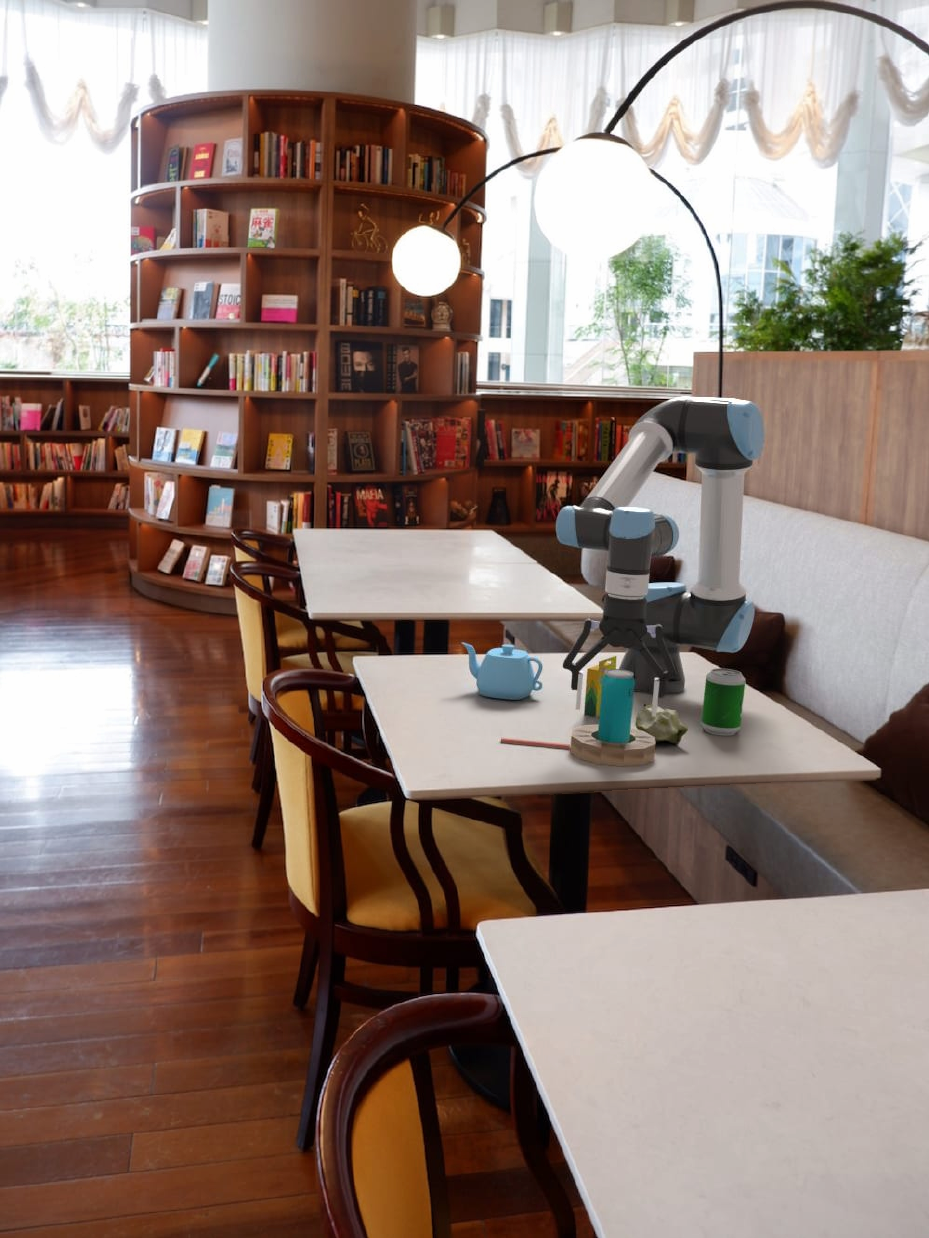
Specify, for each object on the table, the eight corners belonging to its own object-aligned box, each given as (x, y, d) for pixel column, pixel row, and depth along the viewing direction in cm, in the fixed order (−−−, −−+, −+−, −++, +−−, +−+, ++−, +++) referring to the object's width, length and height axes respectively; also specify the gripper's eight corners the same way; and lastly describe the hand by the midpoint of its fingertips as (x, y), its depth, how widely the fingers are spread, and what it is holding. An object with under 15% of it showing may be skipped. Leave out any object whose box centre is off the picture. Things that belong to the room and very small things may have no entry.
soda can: (740, 738, 230) (746, 678, 228) (700, 734, 232) (706, 674, 229) (739, 728, 237) (745, 669, 235) (700, 723, 239) (707, 665, 236)
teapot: (468, 634, 258) (550, 643, 254) (465, 682, 260) (546, 691, 256) (453, 645, 246) (539, 655, 242) (450, 695, 248) (535, 706, 244)
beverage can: (630, 750, 218) (638, 671, 215) (624, 759, 213) (631, 678, 210) (600, 745, 220) (607, 666, 217) (593, 754, 215) (600, 673, 212)
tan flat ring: (572, 736, 225) (573, 721, 224) (652, 744, 223) (654, 728, 222) (568, 760, 210) (570, 744, 209) (654, 769, 208) (656, 752, 208)
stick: (501, 740, 219) (501, 737, 219) (569, 747, 218) (569, 744, 218) (500, 742, 218) (500, 739, 218) (569, 748, 217) (569, 745, 217)
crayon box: (600, 708, 246) (605, 653, 244) (613, 711, 244) (618, 655, 242) (582, 714, 240) (587, 658, 238) (595, 718, 238) (600, 661, 236)
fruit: (628, 741, 229) (634, 700, 229) (675, 747, 229) (681, 706, 229) (637, 747, 219) (644, 703, 219) (687, 753, 220) (693, 710, 220)
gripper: (554, 593, 209) (545, 710, 213) (698, 605, 206) (686, 723, 210) (556, 586, 216) (548, 699, 220) (696, 597, 213) (684, 711, 217)
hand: (615, 711), depth 215 cm, fingers open, 13 cm apart
